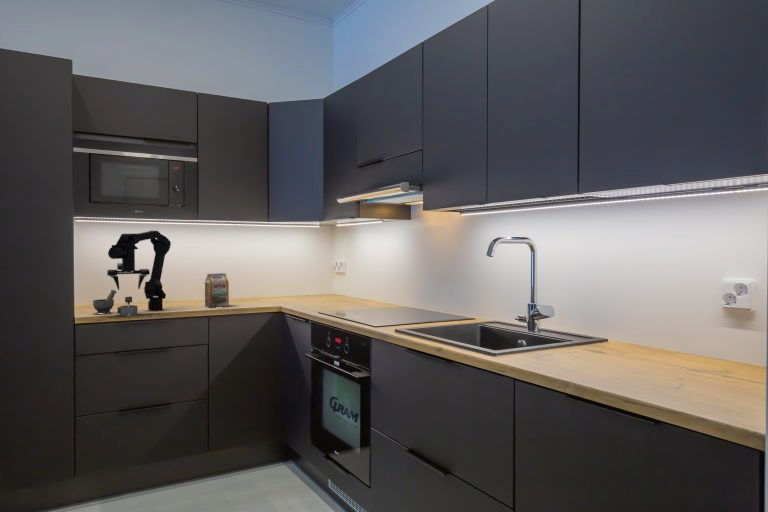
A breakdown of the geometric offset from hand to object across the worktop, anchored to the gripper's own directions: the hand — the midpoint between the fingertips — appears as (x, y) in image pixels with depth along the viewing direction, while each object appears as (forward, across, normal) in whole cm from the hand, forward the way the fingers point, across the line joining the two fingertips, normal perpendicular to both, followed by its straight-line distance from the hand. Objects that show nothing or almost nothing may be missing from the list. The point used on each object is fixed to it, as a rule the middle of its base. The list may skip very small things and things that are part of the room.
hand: (128, 289), depth 261 cm
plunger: (+12, 0, 0) cm, 12 cm away
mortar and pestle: (+13, +9, -13) cm, 21 cm away
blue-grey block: (+13, 0, 0) cm, 13 cm away
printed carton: (+13, -47, -11) cm, 50 cm away
